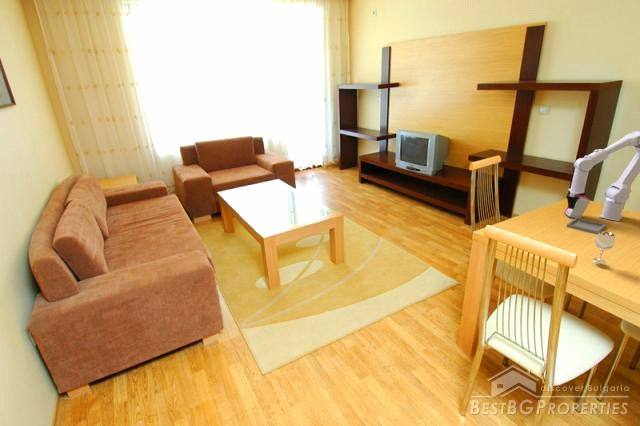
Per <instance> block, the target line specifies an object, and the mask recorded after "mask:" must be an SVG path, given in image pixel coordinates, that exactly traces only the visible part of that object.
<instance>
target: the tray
mask: <svg viewBox="0 0 640 426" xmlns="http://www.w3.org/2000/svg"><path fill="white" fill-rule="evenodd" d="M606 225H607V224H606V223H602V222H596V221H591V220H587V219H582V218H580V219H579V218H572V220H571V221H569V222H568V223H567V224H566V228H570V229H574V230H577V231H583V232H586V233H591V234H594V235H595V234H596V235H598V234H599V232H603V230H604V229H605V228H606Z"/></svg>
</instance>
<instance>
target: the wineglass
mask: <svg viewBox="0 0 640 426" xmlns="http://www.w3.org/2000/svg"><path fill="white" fill-rule="evenodd" d="M615 239H616V236H615V234H614V233H613V232H609V231H601V232H599V233H598V234H596V237H595V240H594V243H595V246H596V247H597V248H599V249H600V253H599V257H598V258H597V257H596V258H595V257H594V258H592V262H595V263H597V264H600V265H601V264H603V265H605V264H607V261H606V260H605V259H602V255H603V253H604V251H605V250H610V249H612V248H613V247H614V245H615Z"/></svg>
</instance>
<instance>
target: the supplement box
mask: <svg viewBox="0 0 640 426" xmlns="http://www.w3.org/2000/svg"><path fill="white" fill-rule="evenodd" d="M576 197H580V198H579V199H578V201H577V202H576V204H575V207H574V209H569V208H568V206H567V207H566V209H565V211H564V212H563V213H564V215H566V216H567V217H568V218H570V219H575V218H578V219H582V217H583V215H584V213H585V211H586V210H587V208H588V206H589V205H590V203H591V200H590V198H588V197H587V196H586V195H584V196H582V195H577V194H576Z"/></svg>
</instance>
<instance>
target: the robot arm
mask: <svg viewBox="0 0 640 426" xmlns="http://www.w3.org/2000/svg"><path fill="white" fill-rule="evenodd" d="M625 147H634V149H635V150H636V153H635V155H634V156H633V158H632V159H631V160H630V162H629V164H627V166H626V167H625V170H624V171H623V172H622V173H621V175H620V177H619V178H618V179H617V181H614V182H612V183H611V185H610V186H608V187H607V188H606V189H605V191H604V196H605V201H604V206H603V210H602V214H600V215H599V216H598V218H601V219H604V220H611V221H616V222H619V221H620V220H621V219H623V217H624V215H622V214H623V213H622V212H623V208H624V204H625V203H626V202H628V200H629V198H630V194H631V193H632V187H631V185H632V184H633V183H634V181H636V178H637V177H638V175H639V174H640V130H633V131H631V132H629V133H628V134H625V136H623V137H622V138H621V139H619V140H616V141H615V142H613V143H612V144H610V145H609V146H607V147H606V148H603V149H602V148H599V149H598V148H596V149H594V150H593V151H592V153H590V154H587V155H584V157H580V158H578V159H576V160H575V161H574V163H573V168H574V172H573V177H572V181H571V185H570V188H568V189H567V191H569V192H570V193H569V194H566V200H567V207H568V208H569V209H574V207H575V204H576V202H577V201H578V199H579V198H580V197H576V194H577V195H582V196H586V193H587V192H585V190H586V184H587V180H588V175H589V172H590V171H591V170H592V168H593V167H594V166H596V165H597V164H599V163H601V162H603V161H605V160H607V159H608V157H609V155H611V154H614V153H615V152H616V153H617V151H620V150H622V149H624V148H625Z"/></svg>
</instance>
